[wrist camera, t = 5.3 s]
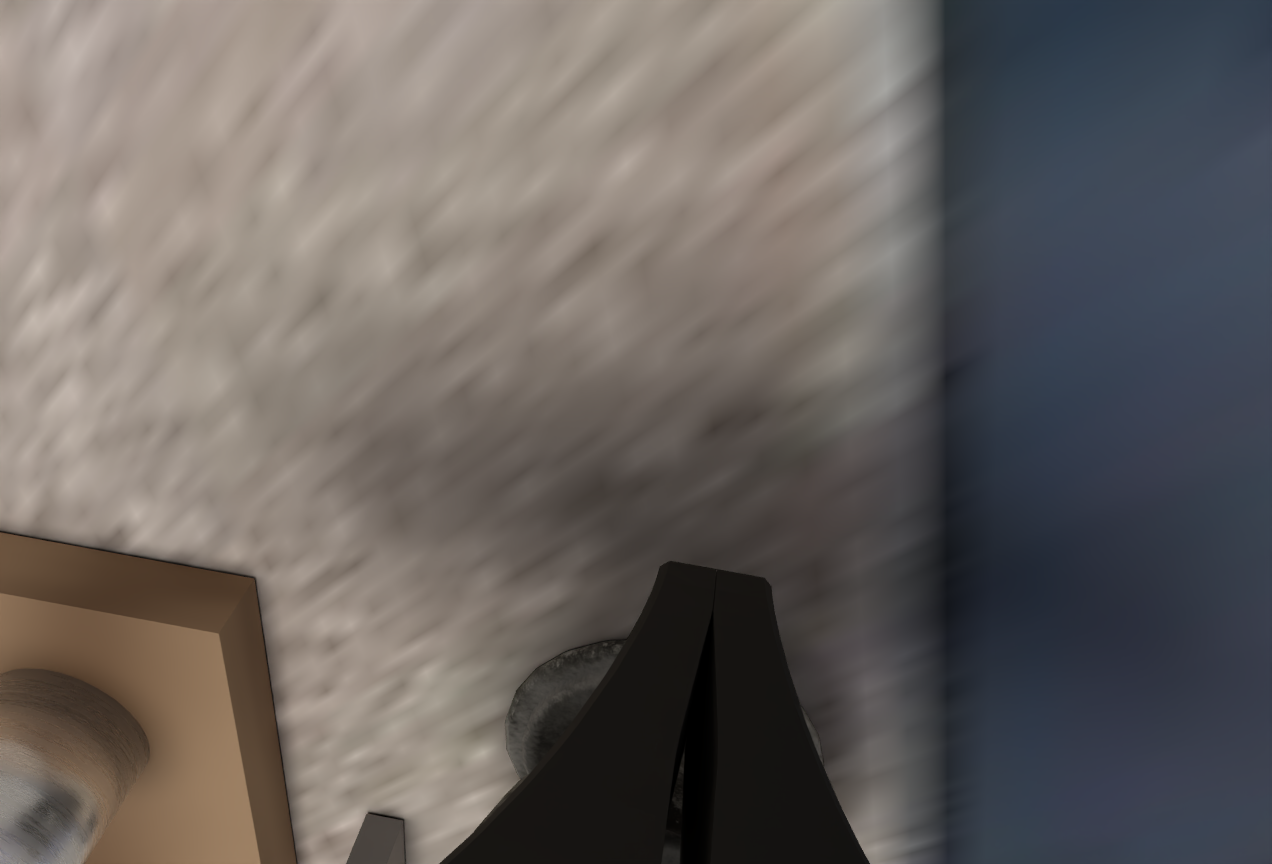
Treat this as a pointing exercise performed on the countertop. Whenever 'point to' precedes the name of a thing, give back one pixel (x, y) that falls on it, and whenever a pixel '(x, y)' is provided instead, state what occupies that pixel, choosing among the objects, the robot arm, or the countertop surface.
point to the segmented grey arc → (379, 842)
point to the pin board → (134, 713)
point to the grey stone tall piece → (553, 707)
